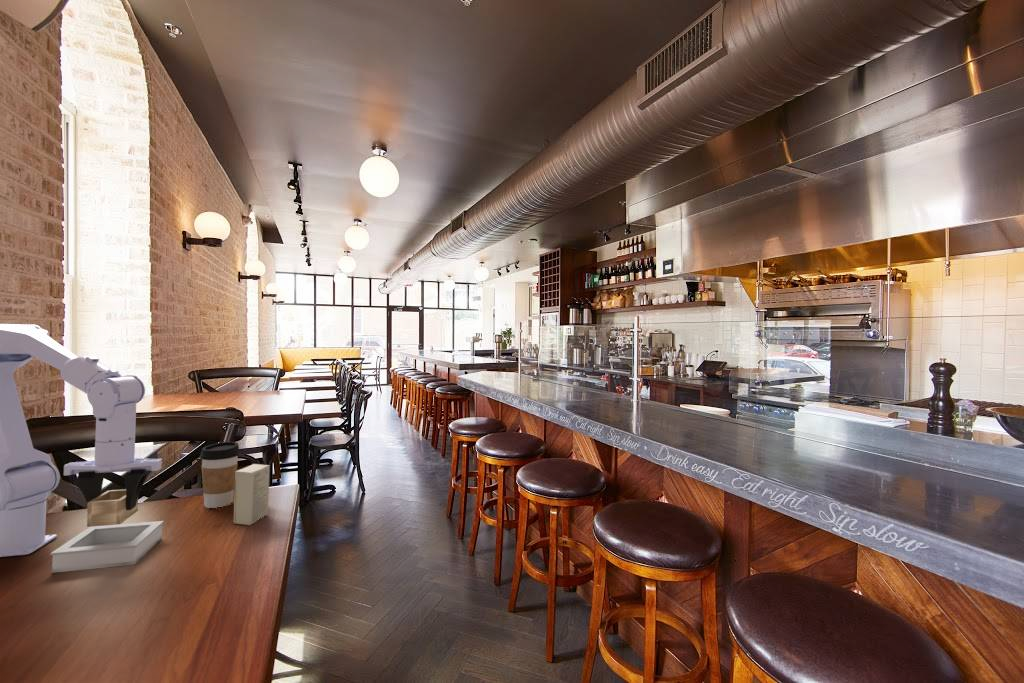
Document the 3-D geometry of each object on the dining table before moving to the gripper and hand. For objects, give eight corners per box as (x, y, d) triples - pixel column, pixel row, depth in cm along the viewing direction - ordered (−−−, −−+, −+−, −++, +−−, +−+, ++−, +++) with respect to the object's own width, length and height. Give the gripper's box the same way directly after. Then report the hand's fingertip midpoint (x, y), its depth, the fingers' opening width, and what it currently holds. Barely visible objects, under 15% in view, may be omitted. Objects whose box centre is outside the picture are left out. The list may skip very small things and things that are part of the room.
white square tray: (49, 573, 77) (50, 553, 77) (89, 544, 88) (90, 526, 88) (135, 564, 81) (136, 545, 81) (163, 537, 92) (163, 520, 92)
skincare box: (252, 513, 106) (254, 463, 106) (269, 515, 105) (270, 464, 105) (232, 524, 99) (234, 470, 99) (249, 526, 99) (251, 472, 99)
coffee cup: (246, 501, 113) (248, 443, 113) (214, 513, 105) (216, 450, 105) (222, 496, 116) (224, 440, 116) (189, 507, 108) (191, 446, 108)
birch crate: (87, 526, 81) (87, 502, 81) (107, 512, 87) (107, 490, 87) (120, 524, 82) (120, 500, 82) (137, 510, 88) (138, 488, 88)
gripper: (53, 445, 78) (50, 521, 78) (151, 442, 83) (148, 514, 83) (78, 436, 85) (75, 506, 85) (167, 434, 89) (165, 500, 89)
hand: (113, 509), depth 84 cm, fingers closed on birch crate, 5 cm apart
